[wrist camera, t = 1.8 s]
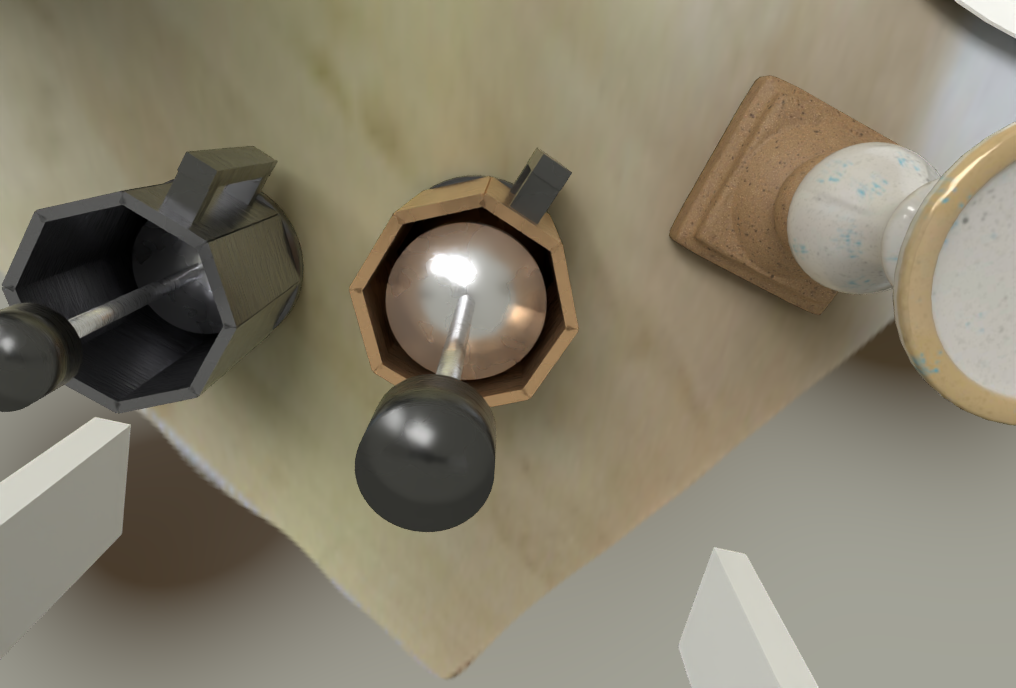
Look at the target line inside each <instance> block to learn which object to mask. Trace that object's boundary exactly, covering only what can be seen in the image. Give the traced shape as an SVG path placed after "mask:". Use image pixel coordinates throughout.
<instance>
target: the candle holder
mask: <svg viewBox="0 0 1016 688" xmlns="http://www.w3.org/2000/svg"><path fill="white" fill-rule="evenodd" d="M669 236H670V237H671V238H672V239H673V240H674V241H676V242H677V243H679V244H680V245H682V246H684V247H685V248H687V249H689V250H690V251H692V252H694V253H696V254H697V255H699V256H701V257H703V258H705V259H707V260H709V261H711V262H712V263H714V264H716V265H718V266H720V267H722V268H724V269H726V270H728V271H730V272H732V273H734V274H735V275H737V276H739V277H741V278H743V279H745V280H747V281H749V282H751V283H753V284H755V285H757V286H759V287H760V288H762V289H764V290H766V291H768V292H770V293H772V294H774V295H776V296H778V297H780V298H782V299H783V300H785V301H787V302H789V303H791V304H793V305H795V306H797V307H799V308H802V309H804V310H806V311H809V312H811V313H814V314H818V315H820V314H821V313H822V312H823V311H824V310H825V309H826V307H827V306H828V305H829V303H830V302H831V301H832V299H833V298H834V297H835V295H836V294H837V293H838V292H842V293H847V294H859V295H861V294H873V293H878V292H882V291H887V290H890V289H892V288H893V306H894V318H895V322H896V326H897V330H898V334H899V337H900V341H901V343H902V345H903V347H904V349H905V351H906V353H907V355H908V357H909V359H910V361H911V363H912V365H913V366H914V367H915V369H916V370H917V371H918V373H919V374H920V376H921V377H922V378H923V380H924V381H925V382H926V383H928V385H930V386H931V387H932V388H933V389H934V390H935V391H936V392H937V393H938V394H939V395H941V396H942V397H943V398H945V399H947V400H948V401H949V402H951V403H953V404H954V405H956V406H957V407H959V408H960V409H962V410H965V411H967V412H969V413H972V414H974V415H976V416H979V417H982V418H984V419H986V420H990V421H994V422H999V423H1003V424H1007V425H1016V122H1013V123H1011V124H1009V125H1007V126H1006V127H1004V128H1002V129H1001V130H999V131H997V132H995V133H994V134H992V135H990V136H988V137H987V138H985V139H983V140H982V141H981V142H980V143H978V144H977V145H976V146H974V147H973V148H972V149H970V150H969V151H968V152H966V153H965V154H964V155H962V156H961V157H960V158H959V159H958V160H957V161H956V162H955V163H954V164H953V165H952V166H951V167H950V168H949V169H948V170H947V171H946V172H945V173H944V174H943V175H942V176H940V175H939V173H938V172H937V170H936V169H935V168H934V167H933V166H932V165H931V164H930V163H929V162H928V161H927V160H926V159H925V158H923V157H922V156H920V155H919V154H918V153H916V152H914V151H912V150H910V149H908V148H905V147H903V146H900V145H898V144H897V143H895V142H893V141H891V140H890V139H888V138H886V137H884V136H883V135H881V134H879V133H877V132H876V131H874V130H872V129H870V128H869V127H867V126H865V125H863V124H861V123H860V122H858V121H856V120H854V119H853V118H851V117H849V116H847V115H846V114H844V113H842V112H840V111H839V110H837V109H835V108H833V107H832V106H830V105H828V104H826V103H825V102H823V101H821V100H819V99H818V98H816V97H814V96H812V95H811V94H809V93H807V92H805V91H803V90H802V89H800V88H798V87H796V86H794V85H792V84H790V83H788V82H786V81H783V80H781V79H779V78H777V77H773V76H763V77H759V78H758V79H757V80H756V81H755V82H754V84H753V85H752V87H751V89H750V90H749V92H748V93H747V95H746V96H745V98H744V100H743V101H742V103H741V105H740V106H739V108H738V110H737V112H736V113H735V115H734V117H733V119H732V120H731V122H730V124H729V126H728V127H727V129H726V131H725V133H724V134H723V136H722V138H721V140H720V141H719V143H718V145H717V147H716V148H715V150H714V152H713V154H712V155H711V157H710V159H709V161H708V162H707V164H706V166H705V168H704V169H703V171H702V173H701V175H700V176H699V178H698V180H697V182H696V183H695V185H694V187H693V189H692V190H691V192H690V194H689V196H688V197H687V199H686V201H685V203H684V204H683V206H682V208H681V210H680V212H679V214H678V216H677V218H676V220H675V222H674V224H673V226H672V228H671V230H670V234H669Z"/></svg>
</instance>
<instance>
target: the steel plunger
mask: <svg viewBox="0 0 1016 688" xmlns="http://www.w3.org/2000/svg"><path fill="white" fill-rule="evenodd" d="M132 268H133V273H134V278H135V281H136V284H137V286H138V289H137V290H134V291H132V292H130V293H128V294H125V295H123V296H121V297H119V298H116V299H114V300H112V301H110V302H107V303H105V304H103V305H101V306H98V307H96V308H94V309H92V310H89V311H87V312H85V313H83V314H80V315H78V316H76V317H74V318H71V319H69V320H67V319H66V318H65V317H64V316H63V315H61V314H60V313H59V312H57V311H56V310H54V309H52V308H50V307H47V306H45V305H41V304H37V303H19V304H15V305H12V306H9V307H7V308H4V309H1V310H0V411H1V412H10V411H16V410H20V409H23V408H25V407H27V406H29V405H30V404H32V403H33V402H36V401H37V400H39V399H41V398H42V397H44V396H46V395H47V394H49V393H51V392H53V391H54V390H56V389H58V388H59V387H61V386H63V385H65V384H66V383H68V382H69V381H71V380H72V379H73V378H74V377H75V376H76V374H77V373H78V371H79V369H80V367H81V364H82V358H83V349H82V344H81V341H80V338H81V337H83V336H85V335H87V334H89V333H91V332H93V331H95V330H97V329H99V328H101V327H103V326H105V325H107V324H110V323H112V322H114V321H116V320H118V319H120V318H122V317H124V316H126V315H128V314H130V313H132V312H134V311H136V310H138V309H140V308H142V307H144V306H146V305H149V306H150V307H151V308H152V309H153V310H154V311H155V312H156V313H157V314H158V315H159V316H160V317H161V318H163V319H164V320H166V321H167V322H169V323H170V324H172V325H174V326H176V327H178V328H181V329H183V330H186V331H190V332H194V333H201V334H213V333H220V331H221V329H222V327H223V323H222V320H221V317H220V314H219V311H218V308H217V305H216V303H215V300H214V297H213V294H212V291H211V288H210V285H209V282H208V279H207V276H206V273H205V270H204V267H203V265H202V262H201V259H200V256H199V253H198V250H197V249H196V248H194V247H192V246H191V245H189V244H187V243H186V242H184V241H182V240H181V239H179V238H177V237H176V236H174V235H172V234H171V233H169V232H167V231H166V230H164V229H162V228H161V227H159V226H157V225H156V224H154V223H152V222H151V221H149V220H148V221H147V222H146V223H145V224H144V226H143V227H142V228H141V230H140V232H139V233H138V235H137V238H136V240H135V243H134V247H133V254H132Z"/></svg>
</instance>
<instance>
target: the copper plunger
mask: <svg viewBox="0 0 1016 688" xmlns="http://www.w3.org/2000/svg"><path fill="white" fill-rule="evenodd" d="M546 305H547V298H546V290H545V284H544V281H543V277H542V274H541V271H540V269H539V267H538V264H537V263H536V261H535V259H534V258H533V256H532V255H531V253H530V252H529V251H528V250H527V248H526V247H525V246H524V245H523V244H522V243H521V242H520V241H519V240H517V239H516V238H515V237H513V236H512V235H511V234H509V233H507V232H506V231H504V230H502V229H500V228H497V227H495V226H492V225H489V224H485V223H482V222H474V221H457V222H450V223H446V224H442V225H439V226H436V227H434V228H432V229H430V230H428V231H426V232H425V233H423V234H421V235H420V236H418V237H417V238H416V239H415V240H414V241H412V242H411V243H410V244H409V246H408V247H407V248H406V249H405V250H404V251H403V252H402V254H401V255H400V256H399V258H398V259H397V261H396V263H395V265H394V267H393V268H392V271H391V274H390V276H389V279H388V284H387V289H386V311H387V316H388V321H389V324H390V327H391V330H392V332H393V334H394V336H395V338H396V339H397V341H398V342H399V344H400V345H401V347H402V348H403V349H404V350H405V352H406V353H407V354H408V355H409V356H410V357H411V358H412V359H413V360H415V361H416V362H417V363H418V364H420V365H421V366H423V367H424V368H426V369H428V370H430V371H432V372H434V373H436V374H424V375H418V376H414V377H411V378H408V379H406V380H404V381H402V382H400V383H398V384H397V385H395V386H394V387H393V388H391V389H390V390H389V391H388V392H387V393H386V394H385V395H384V397H383V398H382V399H381V401H380V403H379V404H378V406H377V408H376V410H375V412H374V415H373V417H372V419H371V421H370V423H369V425H368V427H367V429H366V432H365V434H364V436H363V438H362V440H361V442H360V444H359V447H358V450H357V454H356V459H355V475H356V480H357V484H358V487H359V489H360V492H361V494H362V495H363V497H364V499H365V500H366V502H367V503H368V504H369V506H370V507H371V508H372V509H373V510H374V511H375V512H376V513H377V514H378V515H380V516H381V517H382V518H384V519H385V520H387V521H388V522H390V523H392V524H394V525H396V526H399V527H401V528H404V529H408V530H412V531H419V532H435V531H442V530H446V529H450V528H453V527H455V526H458V525H460V524H462V523H463V522H465V521H467V520H468V519H470V518H471V517H472V516H473V515H474V514H476V513H477V512H478V511H479V510H480V508H481V507H482V506H483V505H484V503H485V501H486V500H487V498H488V496H489V494H490V492H491V489H492V485H493V481H494V470H495V449H496V425H495V420H494V416H493V413H492V411H491V409H490V407H489V405H488V404H487V402H486V401H485V399H484V398H483V397H482V396H481V394H480V393H479V392H477V391H476V390H475V389H474V388H473V387H471V386H470V385H468V384H467V383H465V382H463V381H461V380H460V379H462V380H474V379H481V378H486V377H490V376H494V375H496V374H499V373H501V372H503V371H505V370H507V369H509V368H510V367H512V366H513V365H515V364H516V363H517V362H519V361H520V360H521V359H522V358H523V357H524V356H525V355H526V354H527V353H528V352H529V351H530V349H531V348H532V347H533V345H534V344H535V342H536V340H537V339H538V337H539V335H540V332H541V330H542V328H543V324H544V320H545V315H546Z"/></svg>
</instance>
